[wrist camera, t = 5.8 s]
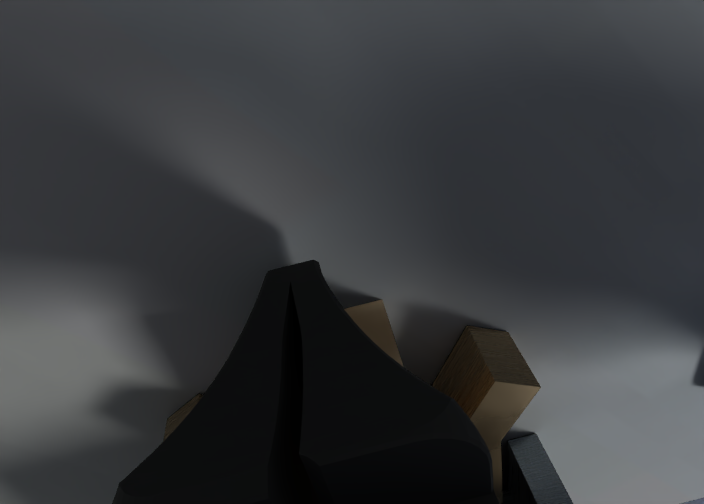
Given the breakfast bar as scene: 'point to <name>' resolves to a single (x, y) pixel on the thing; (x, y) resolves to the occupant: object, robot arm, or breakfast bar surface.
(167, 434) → the awning
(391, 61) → the breakfast bar surface
